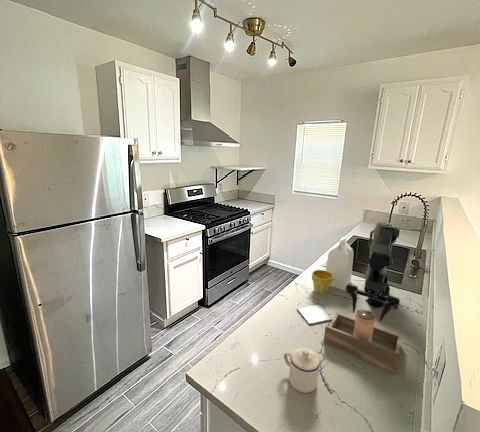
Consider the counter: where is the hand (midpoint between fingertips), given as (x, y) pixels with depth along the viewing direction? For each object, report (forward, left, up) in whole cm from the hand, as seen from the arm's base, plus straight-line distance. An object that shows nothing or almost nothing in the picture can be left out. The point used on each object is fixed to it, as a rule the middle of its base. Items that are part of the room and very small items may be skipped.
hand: (366, 317), depth 99 cm
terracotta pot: (+3, +2, -10) cm, 11 cm away
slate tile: (+11, -19, -10) cm, 24 cm away
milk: (-17, -42, -10) cm, 47 cm away
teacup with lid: (+33, +10, -10) cm, 36 cm away
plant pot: (-3, -36, -10) cm, 38 cm away
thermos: (-35, -35, -10) cm, 51 cm away
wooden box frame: (+2, +1, -10) cm, 10 cm away
